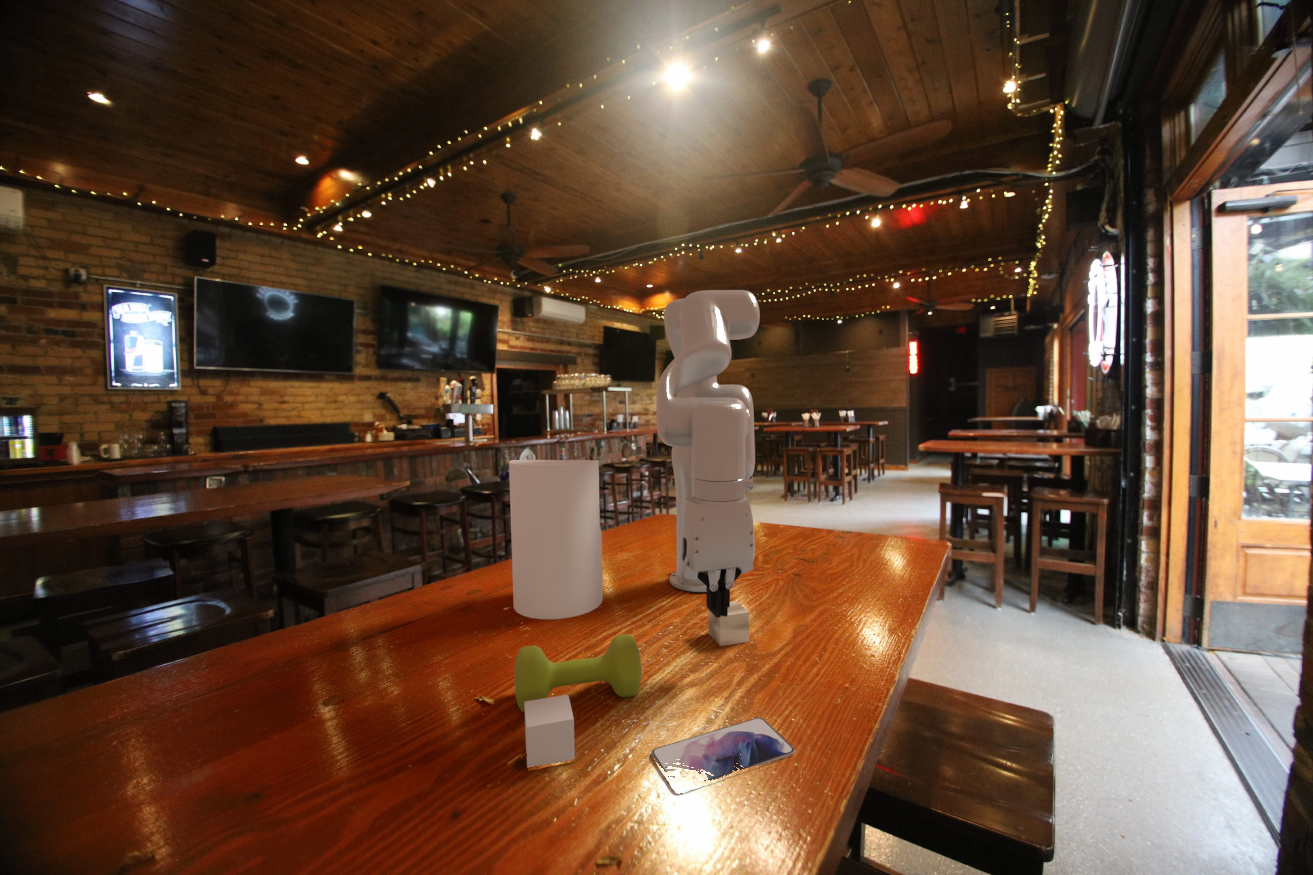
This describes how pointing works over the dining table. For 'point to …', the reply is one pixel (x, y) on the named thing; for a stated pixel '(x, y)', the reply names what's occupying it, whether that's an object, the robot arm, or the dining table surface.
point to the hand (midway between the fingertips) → (718, 612)
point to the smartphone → (726, 749)
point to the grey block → (549, 731)
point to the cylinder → (555, 537)
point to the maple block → (730, 626)
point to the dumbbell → (578, 671)
